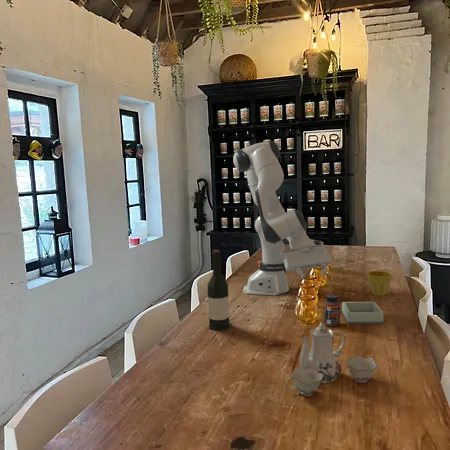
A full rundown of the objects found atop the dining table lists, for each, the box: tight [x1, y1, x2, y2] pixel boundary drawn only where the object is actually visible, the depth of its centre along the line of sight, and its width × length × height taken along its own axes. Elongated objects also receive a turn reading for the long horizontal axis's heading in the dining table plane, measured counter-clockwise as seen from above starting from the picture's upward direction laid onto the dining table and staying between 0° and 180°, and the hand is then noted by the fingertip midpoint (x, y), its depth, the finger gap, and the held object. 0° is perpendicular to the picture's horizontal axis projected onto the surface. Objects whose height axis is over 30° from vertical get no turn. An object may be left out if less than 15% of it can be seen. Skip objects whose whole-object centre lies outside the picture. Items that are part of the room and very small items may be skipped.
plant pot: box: [367, 270, 392, 297], centre depth 196 cm, size 10×10×10 cm
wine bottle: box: [207, 249, 231, 332], centre depth 163 cm, size 8×8×30 cm
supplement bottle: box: [323, 293, 341, 328], centre depth 162 cm, size 6×6×11 cm
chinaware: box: [285, 322, 379, 398], centre depth 120 cm, size 28×17×17 cm, turn 114°
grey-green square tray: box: [341, 301, 384, 325], centre depth 167 cm, size 13×13×4 cm
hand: (314, 276), depth 172 cm, fingers open, 8 cm apart
